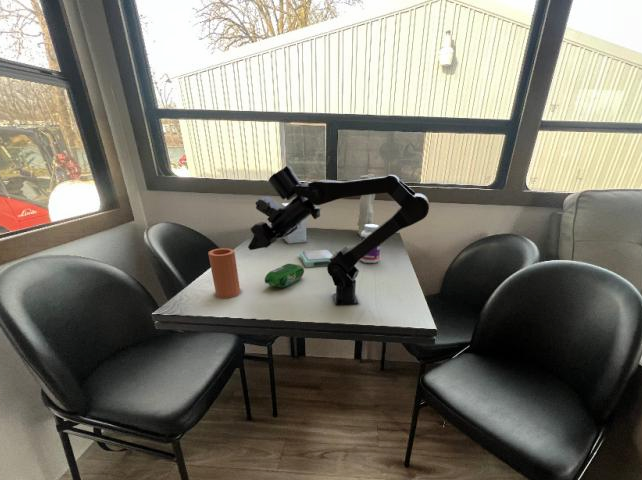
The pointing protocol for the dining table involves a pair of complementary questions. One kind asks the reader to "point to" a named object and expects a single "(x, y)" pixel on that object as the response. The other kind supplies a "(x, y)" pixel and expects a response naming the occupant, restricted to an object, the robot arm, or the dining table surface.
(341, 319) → the dining table surface
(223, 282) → the jar
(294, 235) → the supplement box
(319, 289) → the dining table surface
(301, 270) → the snack package
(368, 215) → the vase
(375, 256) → the pill bottle
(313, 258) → the scale
